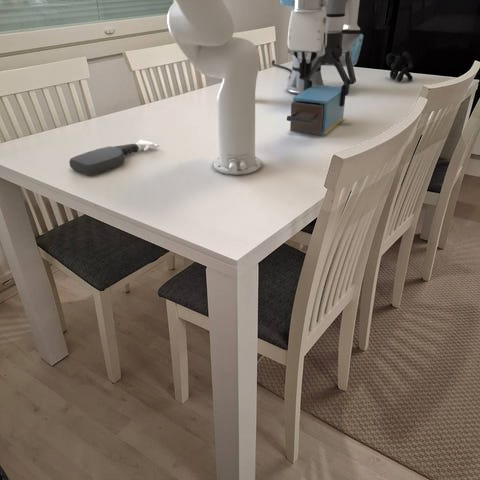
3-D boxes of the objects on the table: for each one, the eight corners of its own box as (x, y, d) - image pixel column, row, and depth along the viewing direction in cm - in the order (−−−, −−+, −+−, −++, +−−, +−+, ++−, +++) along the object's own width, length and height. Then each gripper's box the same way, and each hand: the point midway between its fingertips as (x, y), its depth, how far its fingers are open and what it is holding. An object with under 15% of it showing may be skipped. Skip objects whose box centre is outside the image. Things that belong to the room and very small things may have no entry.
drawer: (312, 141, 132) (314, 111, 127) (282, 136, 136) (283, 107, 132) (338, 119, 150) (340, 93, 145) (310, 116, 154) (311, 89, 149)
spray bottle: (67, 168, 120) (139, 144, 136) (91, 178, 114) (163, 151, 130) (65, 157, 118) (137, 134, 134) (89, 167, 112) (162, 142, 128)
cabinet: (324, 136, 139) (327, 101, 133) (291, 131, 143) (292, 97, 138) (343, 119, 153) (346, 87, 147) (312, 115, 157) (314, 84, 152)
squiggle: (400, 92, 202) (376, 71, 205) (417, 76, 202) (392, 56, 205) (405, 81, 191) (380, 59, 194) (423, 64, 191) (397, 42, 194)
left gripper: (340, 3, 117) (334, 76, 127) (288, 2, 123) (286, 72, 133) (331, 6, 112) (325, 82, 121) (276, 5, 118) (275, 77, 128)
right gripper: (372, 31, 135) (362, 104, 147) (299, 28, 145) (296, 96, 156) (365, 35, 130) (356, 110, 141) (290, 31, 139) (287, 102, 151)
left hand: (304, 76), depth 127 cm, fingers closed
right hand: (324, 103), depth 149 cm, fingers closed on cabinet, 11 cm apart
